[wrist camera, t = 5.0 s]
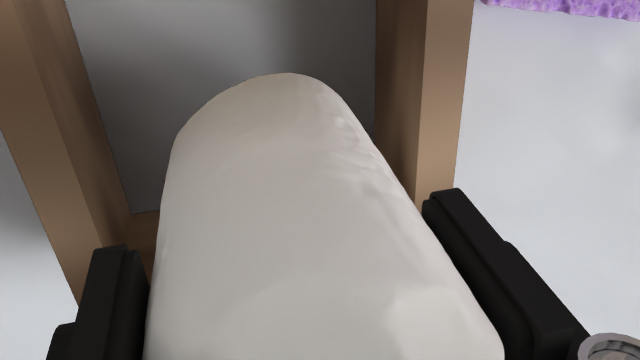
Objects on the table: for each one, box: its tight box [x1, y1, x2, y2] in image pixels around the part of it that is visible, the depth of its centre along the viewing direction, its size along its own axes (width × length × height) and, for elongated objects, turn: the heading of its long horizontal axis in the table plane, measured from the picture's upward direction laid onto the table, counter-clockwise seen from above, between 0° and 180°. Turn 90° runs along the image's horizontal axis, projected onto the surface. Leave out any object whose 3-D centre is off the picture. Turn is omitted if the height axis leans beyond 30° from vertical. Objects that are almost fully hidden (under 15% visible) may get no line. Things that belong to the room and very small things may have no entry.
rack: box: [0, 0, 474, 307], centre depth 13 cm, size 16×11×6 cm
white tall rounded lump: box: [142, 72, 504, 360], centre depth 9 cm, size 6×12×6 cm
